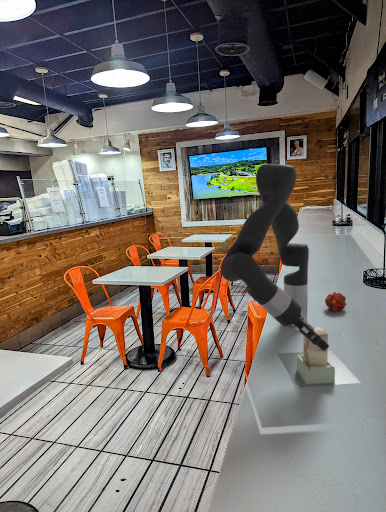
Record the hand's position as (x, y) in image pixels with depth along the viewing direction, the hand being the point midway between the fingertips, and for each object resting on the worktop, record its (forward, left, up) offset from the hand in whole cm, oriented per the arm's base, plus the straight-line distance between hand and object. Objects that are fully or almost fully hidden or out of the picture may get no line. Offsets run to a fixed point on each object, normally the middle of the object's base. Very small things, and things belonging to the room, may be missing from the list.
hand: (320, 341), depth 97 cm
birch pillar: (0, -1, -7) cm, 7 cm away
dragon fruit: (-54, +29, -12) cm, 62 cm away
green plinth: (0, -1, -11) cm, 11 cm away
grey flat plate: (-5, +1, -12) cm, 13 cm away
